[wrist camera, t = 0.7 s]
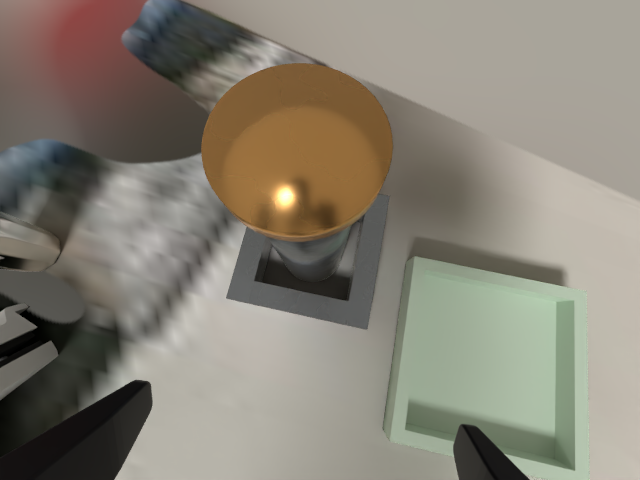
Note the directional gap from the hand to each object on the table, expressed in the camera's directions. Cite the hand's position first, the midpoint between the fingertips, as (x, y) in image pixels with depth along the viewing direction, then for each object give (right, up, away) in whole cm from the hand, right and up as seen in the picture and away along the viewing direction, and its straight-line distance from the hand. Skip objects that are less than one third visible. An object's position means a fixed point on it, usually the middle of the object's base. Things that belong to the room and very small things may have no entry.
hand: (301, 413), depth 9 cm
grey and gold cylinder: (0, +4, +15) cm, 15 cm away
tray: (+12, -3, +13) cm, 18 cm away
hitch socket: (0, +4, +15) cm, 15 cm away
